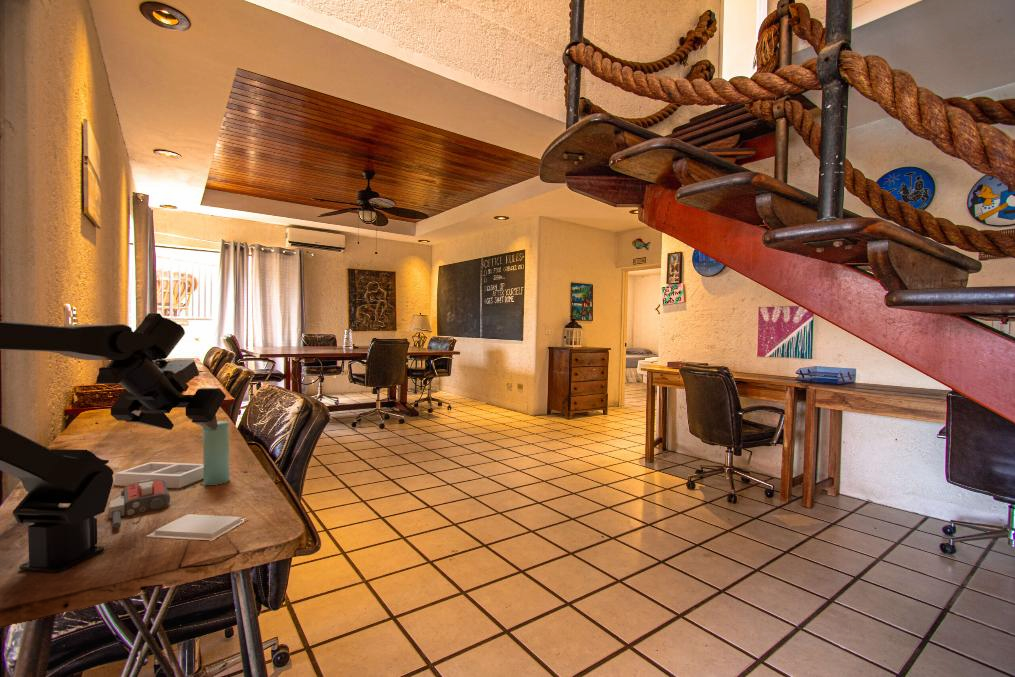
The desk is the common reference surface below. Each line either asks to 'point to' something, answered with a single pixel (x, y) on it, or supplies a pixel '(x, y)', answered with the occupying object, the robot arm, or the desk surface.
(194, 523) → the lid
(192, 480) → the housing
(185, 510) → the desk surface
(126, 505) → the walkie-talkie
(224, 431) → the green banded cylinder
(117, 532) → the desk surface
